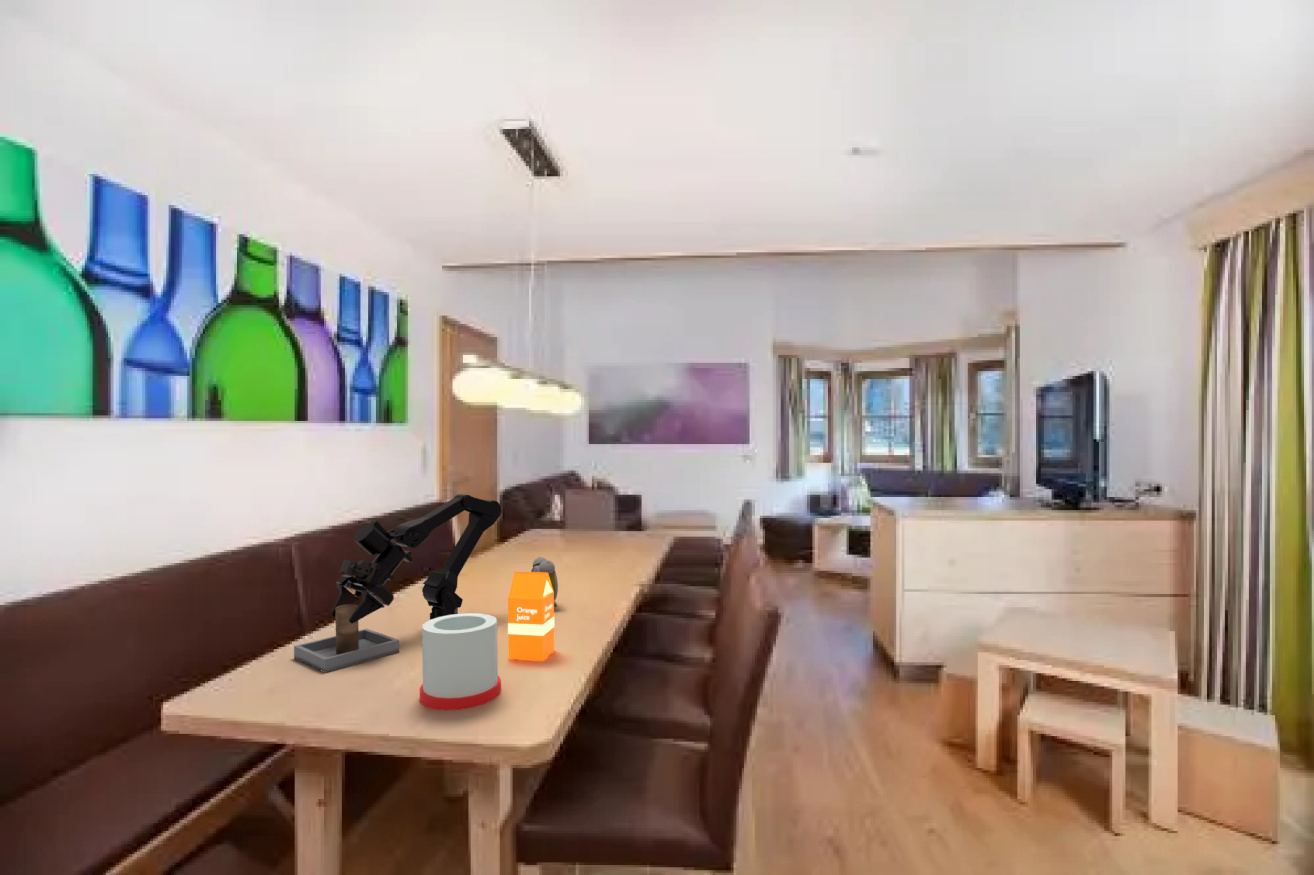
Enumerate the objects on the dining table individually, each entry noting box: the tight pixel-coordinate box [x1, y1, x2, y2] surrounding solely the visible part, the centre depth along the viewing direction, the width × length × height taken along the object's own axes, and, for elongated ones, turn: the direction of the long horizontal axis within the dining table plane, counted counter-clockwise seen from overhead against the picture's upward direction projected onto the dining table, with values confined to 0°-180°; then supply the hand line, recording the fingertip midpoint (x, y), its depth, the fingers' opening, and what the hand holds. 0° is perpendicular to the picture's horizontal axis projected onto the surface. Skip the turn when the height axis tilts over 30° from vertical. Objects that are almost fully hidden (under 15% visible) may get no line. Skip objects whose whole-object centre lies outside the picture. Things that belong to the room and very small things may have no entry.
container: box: [419, 612, 502, 711], centre depth 138 cm, size 16×16×15 cm
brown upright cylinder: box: [335, 603, 359, 655], centre depth 164 cm, size 5×5×11 cm
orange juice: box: [507, 571, 555, 662], centre depth 162 cm, size 8×9×20 cm
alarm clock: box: [530, 556, 559, 607], centre depth 206 cm, size 12×7×15 cm, turn 28°
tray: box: [293, 628, 400, 673], centre depth 164 cm, size 18×16×3 cm
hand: (341, 619), depth 162 cm, fingers open, 9 cm apart
